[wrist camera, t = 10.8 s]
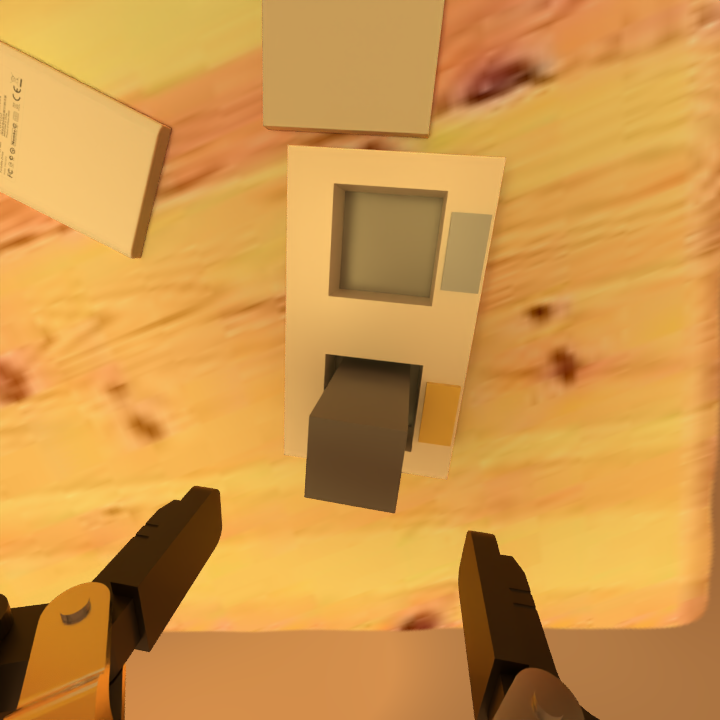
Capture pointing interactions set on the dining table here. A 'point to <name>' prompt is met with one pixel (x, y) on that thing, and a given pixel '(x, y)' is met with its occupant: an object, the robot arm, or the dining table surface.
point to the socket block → (386, 280)
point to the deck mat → (350, 65)
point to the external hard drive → (77, 153)
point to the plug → (359, 435)
